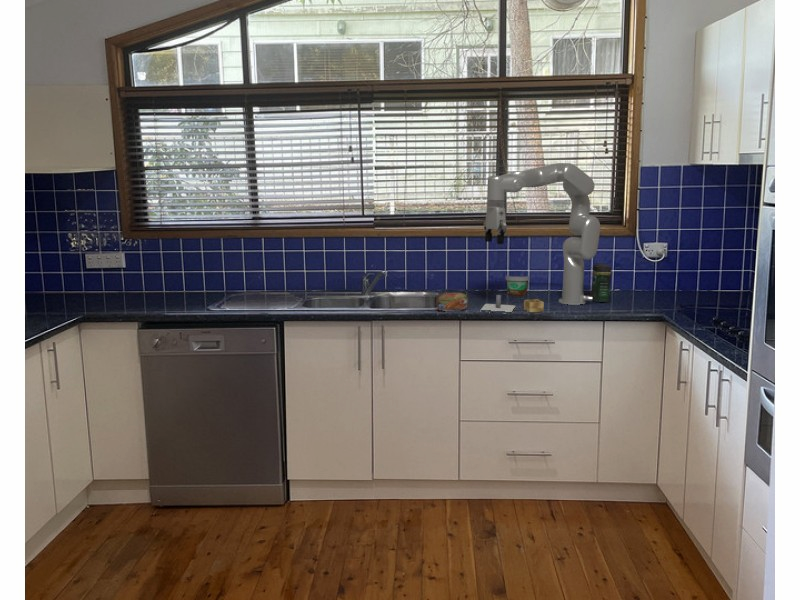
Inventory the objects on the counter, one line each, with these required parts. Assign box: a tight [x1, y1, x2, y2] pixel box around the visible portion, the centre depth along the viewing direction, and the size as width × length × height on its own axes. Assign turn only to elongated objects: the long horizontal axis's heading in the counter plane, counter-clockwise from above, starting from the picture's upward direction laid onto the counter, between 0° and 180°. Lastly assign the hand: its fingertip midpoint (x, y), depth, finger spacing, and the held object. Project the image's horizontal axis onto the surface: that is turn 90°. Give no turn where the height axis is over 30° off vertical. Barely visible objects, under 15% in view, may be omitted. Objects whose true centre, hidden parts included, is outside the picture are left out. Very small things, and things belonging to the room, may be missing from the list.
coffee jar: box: [590, 262, 612, 303], centre depth 335 cm, size 10×8×19 cm
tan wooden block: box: [523, 298, 545, 312], centre depth 312 cm, size 6×6×5 cm
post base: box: [480, 294, 516, 313], centre depth 316 cm, size 14×14×7 cm
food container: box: [504, 275, 531, 297], centre depth 350 cm, size 12×6×10 cm, turn 73°
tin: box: [435, 291, 470, 311], centre depth 314 cm, size 15×3×8 cm, turn 105°
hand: (494, 242), depth 309 cm, fingers open, 9 cm apart
